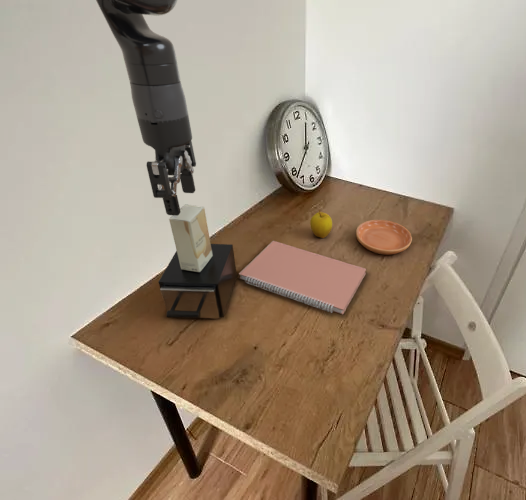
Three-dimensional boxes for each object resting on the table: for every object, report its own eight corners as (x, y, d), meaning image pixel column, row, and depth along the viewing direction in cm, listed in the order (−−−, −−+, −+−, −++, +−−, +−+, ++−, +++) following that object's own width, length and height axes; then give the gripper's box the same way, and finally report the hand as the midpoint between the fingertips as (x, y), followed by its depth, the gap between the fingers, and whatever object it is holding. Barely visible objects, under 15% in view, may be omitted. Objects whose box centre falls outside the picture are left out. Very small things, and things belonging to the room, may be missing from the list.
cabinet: (223, 317, 76) (217, 283, 70) (168, 315, 75) (158, 281, 70) (237, 276, 87) (232, 244, 81) (189, 274, 86) (181, 242, 81)
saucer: (415, 235, 107) (416, 227, 105) (403, 265, 95) (405, 256, 93) (364, 222, 111) (365, 214, 109) (347, 249, 99) (348, 240, 97)
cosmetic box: (200, 273, 73) (189, 222, 65) (180, 270, 73) (167, 219, 66) (214, 254, 78) (205, 205, 71) (195, 252, 78) (184, 203, 71)
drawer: (213, 334, 71) (207, 306, 66) (160, 333, 70) (150, 305, 66) (232, 279, 85) (228, 253, 80) (187, 278, 84) (181, 251, 79)
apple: (315, 228, 107) (315, 204, 102) (334, 233, 105) (336, 209, 100) (306, 238, 102) (306, 214, 97) (326, 244, 100) (328, 220, 96)
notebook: (236, 281, 85) (236, 275, 84) (273, 245, 98) (272, 239, 97) (341, 318, 78) (341, 312, 77) (365, 274, 91) (366, 268, 89)
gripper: (155, 99, 62) (175, 185, 71) (116, 123, 50) (145, 222, 60) (199, 102, 62) (212, 187, 72) (170, 126, 51) (190, 223, 60)
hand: (182, 202), depth 66 cm, fingers open, 8 cm apart
